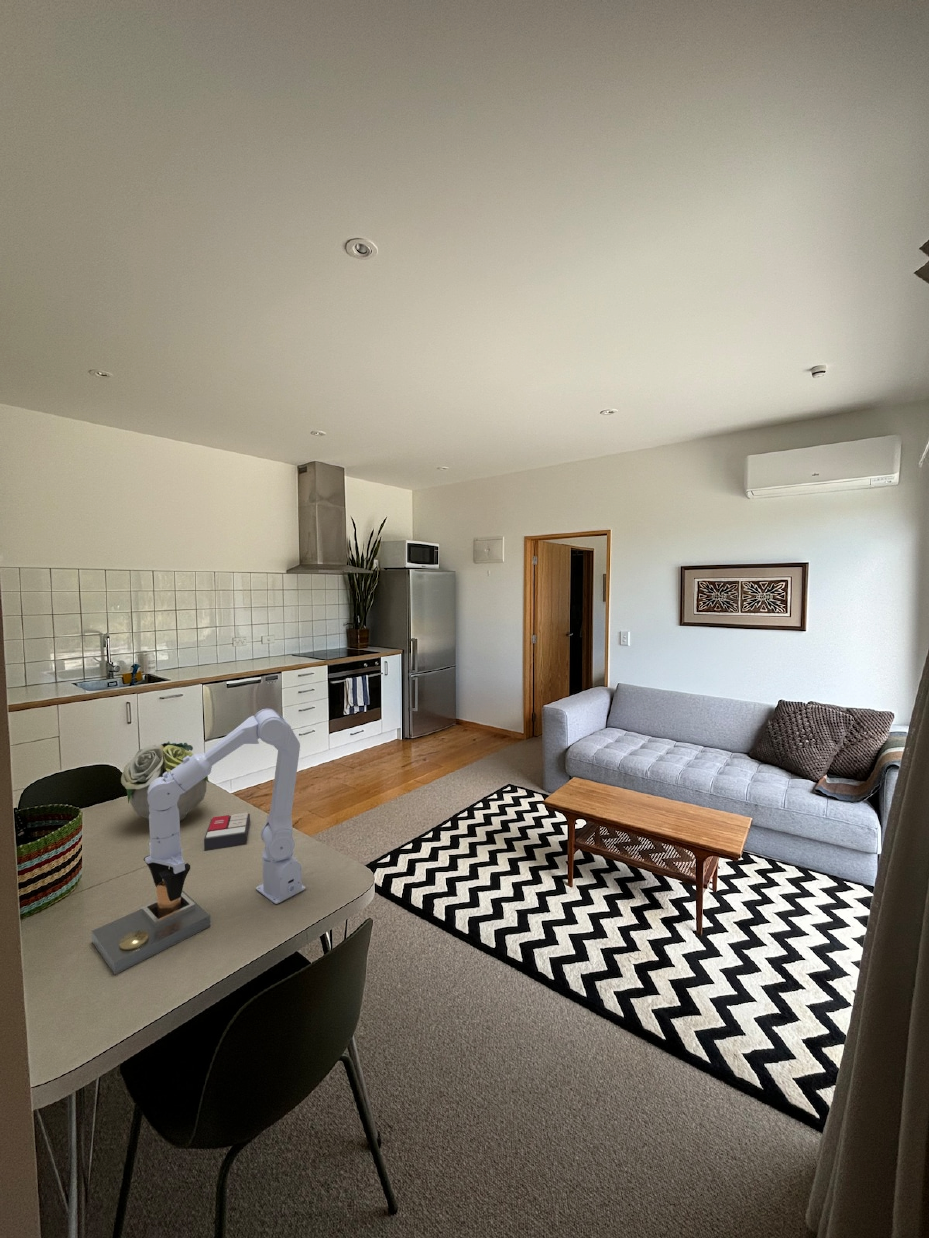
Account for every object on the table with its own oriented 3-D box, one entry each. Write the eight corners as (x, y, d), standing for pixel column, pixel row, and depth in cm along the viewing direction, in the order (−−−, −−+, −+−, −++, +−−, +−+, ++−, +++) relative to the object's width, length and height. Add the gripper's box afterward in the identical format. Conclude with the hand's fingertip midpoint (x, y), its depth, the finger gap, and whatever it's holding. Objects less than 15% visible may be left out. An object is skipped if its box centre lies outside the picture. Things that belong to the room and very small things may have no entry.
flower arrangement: (103, 835, 151) (98, 755, 150) (163, 800, 176) (160, 730, 174) (179, 841, 148) (176, 759, 146) (230, 804, 173) (228, 733, 171)
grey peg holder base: (210, 926, 112) (209, 910, 112) (114, 974, 98) (113, 957, 98) (183, 900, 121) (182, 886, 120) (92, 942, 107) (91, 926, 107)
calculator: (249, 810, 161) (246, 830, 147) (250, 824, 161) (246, 845, 147) (211, 815, 157) (203, 836, 143) (211, 829, 157) (204, 851, 143)
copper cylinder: (185, 916, 114) (183, 875, 114) (164, 927, 111) (162, 885, 110) (175, 909, 117) (173, 868, 116) (154, 919, 113) (152, 878, 112)
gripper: (132, 829, 114) (135, 887, 115) (158, 851, 105) (161, 914, 106) (166, 817, 119) (169, 873, 120) (193, 837, 110) (196, 897, 111)
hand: (168, 891), depth 113 cm, fingers open, 7 cm apart
